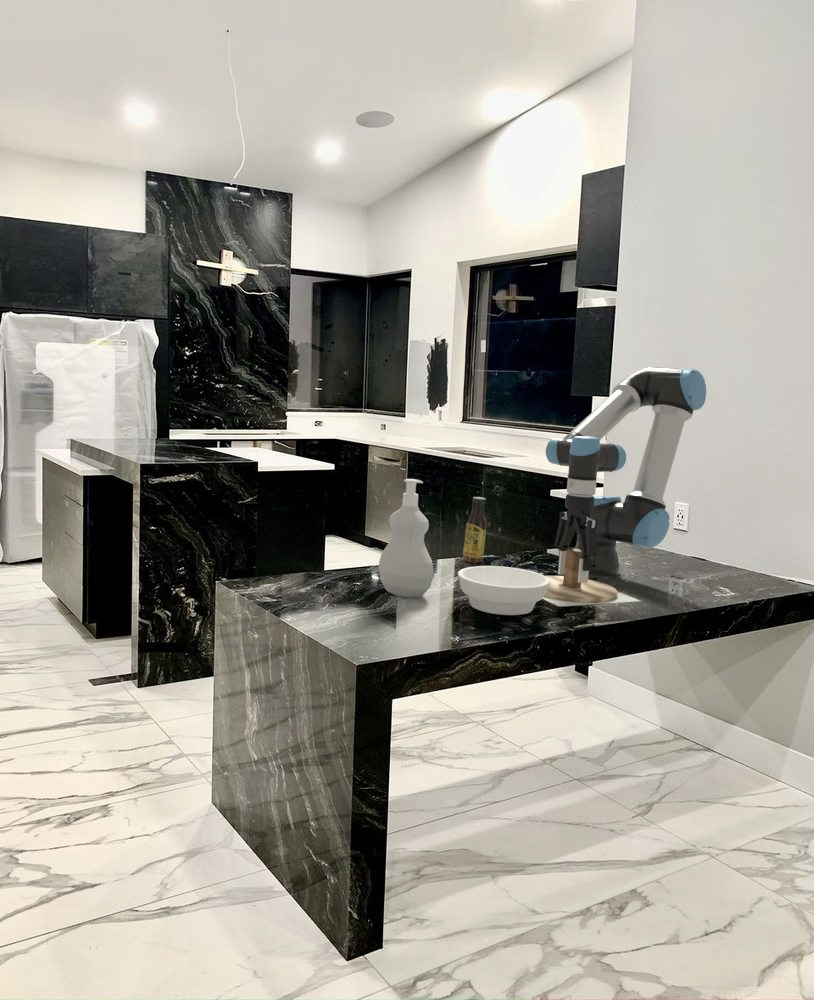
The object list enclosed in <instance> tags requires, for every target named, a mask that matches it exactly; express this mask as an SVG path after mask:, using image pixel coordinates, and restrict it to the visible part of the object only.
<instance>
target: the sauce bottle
mask: <svg viewBox="0 0 814 1000" xmlns="http://www.w3.org/2000/svg"><path fill="white" fill-rule="evenodd" d="M471 502H472V507H471V512H470V513H469V516H468V519H467V521H466V525H465V532H464V538H463V539H464V541H463V548H462V549H463V551H462V560H463V561H464V562H467V563H470V564H471V563H472V564H478V563H482V562H483V558H484V550H485V543H486V542H485V541H486V533H487V524H488V523H487V522H488V520H487V517H486V515H485V506H486V505H485V504H486V503H487V498H485V497H481V496H473V497H472V501H471ZM463 558H467V559H463Z"/></svg>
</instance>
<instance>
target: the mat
mask: <svg viewBox="0 0 814 1000" xmlns="http://www.w3.org/2000/svg"><path fill="white" fill-rule="evenodd" d="M542 600H544V601H546V602H548V603H550V604H552V605H555V606H557V607H561V608H562V607H572V606H573V607H574V606H575V607H576V606H589V605H591V606H592V605H603V604H604V605H606V604H607V605H608V604H620V603H635V602H636V603H637V602H641V600H640V599H637V598H635V597H632V596H629V595H628V594H625V593H623V592H620V591H617V598H616V599H614V600H612V601H608V602H600V603H581V602H570V601H562V600H557V599H552V598H547V597H543V598H542Z"/></svg>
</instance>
